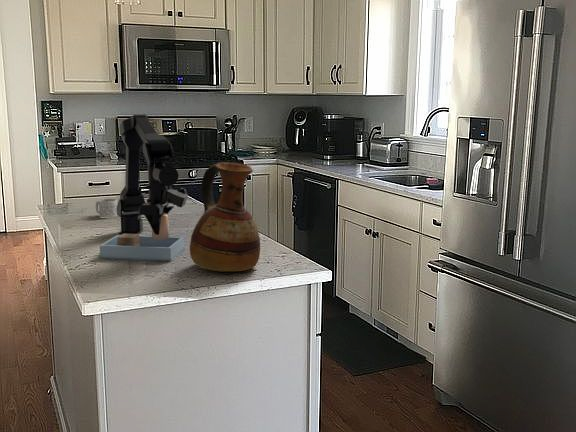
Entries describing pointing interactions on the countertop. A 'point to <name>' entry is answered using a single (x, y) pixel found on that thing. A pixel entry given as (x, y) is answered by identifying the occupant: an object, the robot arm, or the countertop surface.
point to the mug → (107, 207)
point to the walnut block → (128, 240)
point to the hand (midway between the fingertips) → (159, 232)
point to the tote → (143, 249)
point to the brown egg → (162, 228)
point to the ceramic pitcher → (225, 223)
